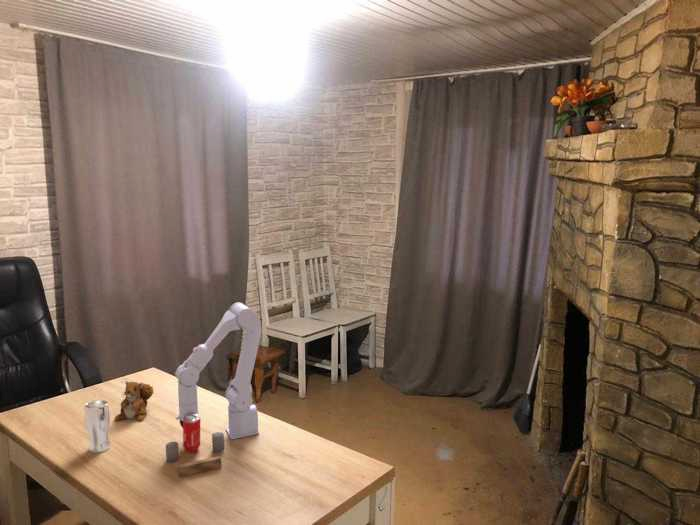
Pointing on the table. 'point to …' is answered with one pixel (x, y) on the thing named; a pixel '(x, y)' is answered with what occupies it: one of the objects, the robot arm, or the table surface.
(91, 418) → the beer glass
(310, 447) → the table surface
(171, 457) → the bollard
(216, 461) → the walnut rail
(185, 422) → the beverage can
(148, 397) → the stuffed squirrel
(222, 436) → the bollard
